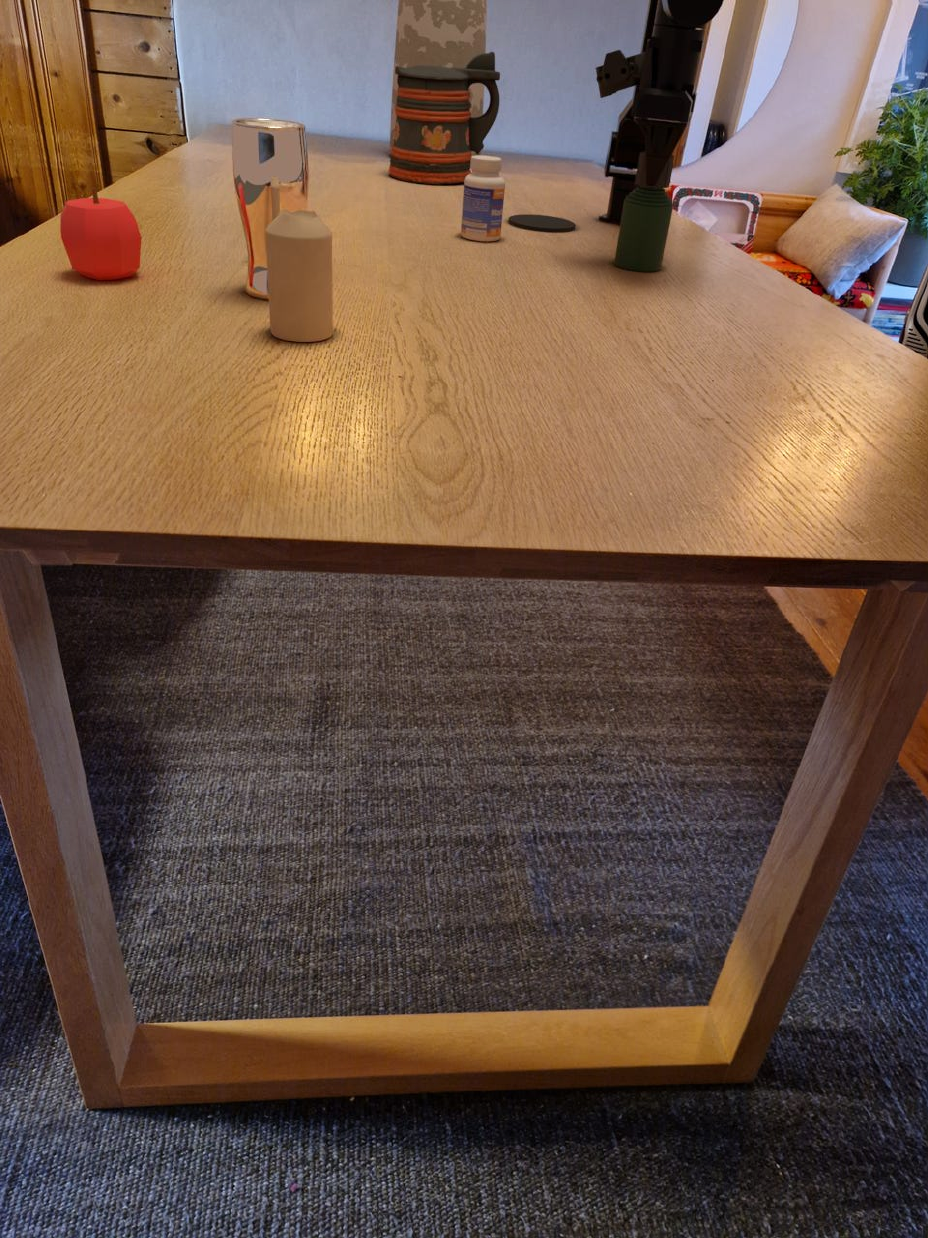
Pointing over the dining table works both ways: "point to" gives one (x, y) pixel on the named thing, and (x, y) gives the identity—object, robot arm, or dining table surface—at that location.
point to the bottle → (643, 229)
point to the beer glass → (267, 184)
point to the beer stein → (440, 120)
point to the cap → (664, 177)
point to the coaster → (542, 223)
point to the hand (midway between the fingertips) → (651, 182)
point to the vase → (440, 41)
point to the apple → (101, 237)
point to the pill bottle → (483, 200)
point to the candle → (299, 276)
